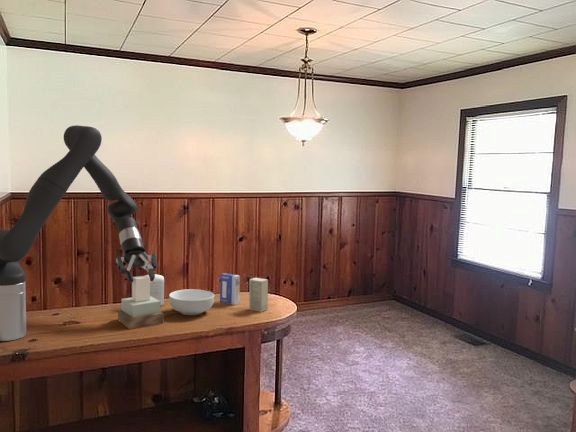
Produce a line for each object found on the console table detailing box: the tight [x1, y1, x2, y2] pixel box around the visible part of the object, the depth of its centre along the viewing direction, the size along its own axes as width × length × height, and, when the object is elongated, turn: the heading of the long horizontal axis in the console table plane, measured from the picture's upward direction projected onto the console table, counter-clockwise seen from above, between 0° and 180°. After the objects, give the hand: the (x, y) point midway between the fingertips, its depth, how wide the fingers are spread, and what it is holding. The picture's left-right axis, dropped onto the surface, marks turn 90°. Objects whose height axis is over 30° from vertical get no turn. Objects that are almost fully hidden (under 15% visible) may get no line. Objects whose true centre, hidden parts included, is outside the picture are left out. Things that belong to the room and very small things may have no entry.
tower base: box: [117, 308, 164, 330], centre depth 172 cm, size 12×12×4 cm
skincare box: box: [248, 277, 269, 313], centre depth 191 cm, size 6×4×12 cm
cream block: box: [131, 275, 150, 302], centre depth 172 cm, size 5×4×8 cm
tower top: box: [120, 296, 161, 317], centre depth 172 cm, size 10×10×4 cm
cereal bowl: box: [168, 288, 215, 316], centre depth 185 cm, size 17×17×7 cm
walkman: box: [219, 272, 241, 306], centre depth 200 cm, size 8×3×12 cm, turn 60°
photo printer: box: [144, 273, 165, 306], centre depth 192 cm, size 10×4×12 cm, turn 123°
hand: (142, 280), depth 170 cm, fingers open, 6 cm apart
